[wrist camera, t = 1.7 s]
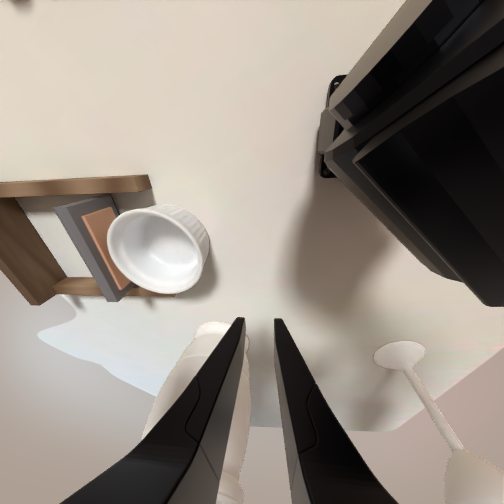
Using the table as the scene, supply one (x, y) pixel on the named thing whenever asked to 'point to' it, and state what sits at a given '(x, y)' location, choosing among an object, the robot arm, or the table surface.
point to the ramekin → (159, 247)
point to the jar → (183, 374)
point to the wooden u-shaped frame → (34, 249)
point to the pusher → (95, 242)
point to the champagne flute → (447, 436)
